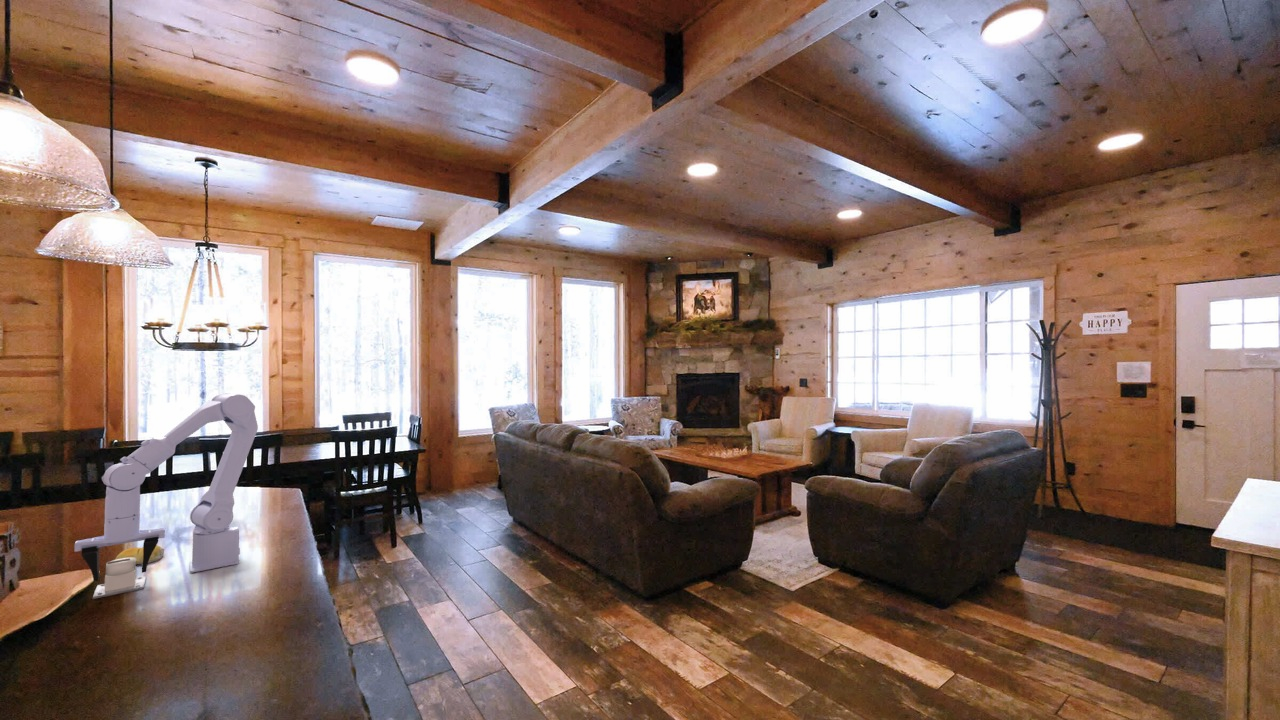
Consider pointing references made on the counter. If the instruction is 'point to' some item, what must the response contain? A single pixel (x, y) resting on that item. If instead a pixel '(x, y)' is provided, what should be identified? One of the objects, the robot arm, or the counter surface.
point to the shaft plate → (102, 593)
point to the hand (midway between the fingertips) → (120, 575)
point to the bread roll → (141, 554)
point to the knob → (120, 573)
